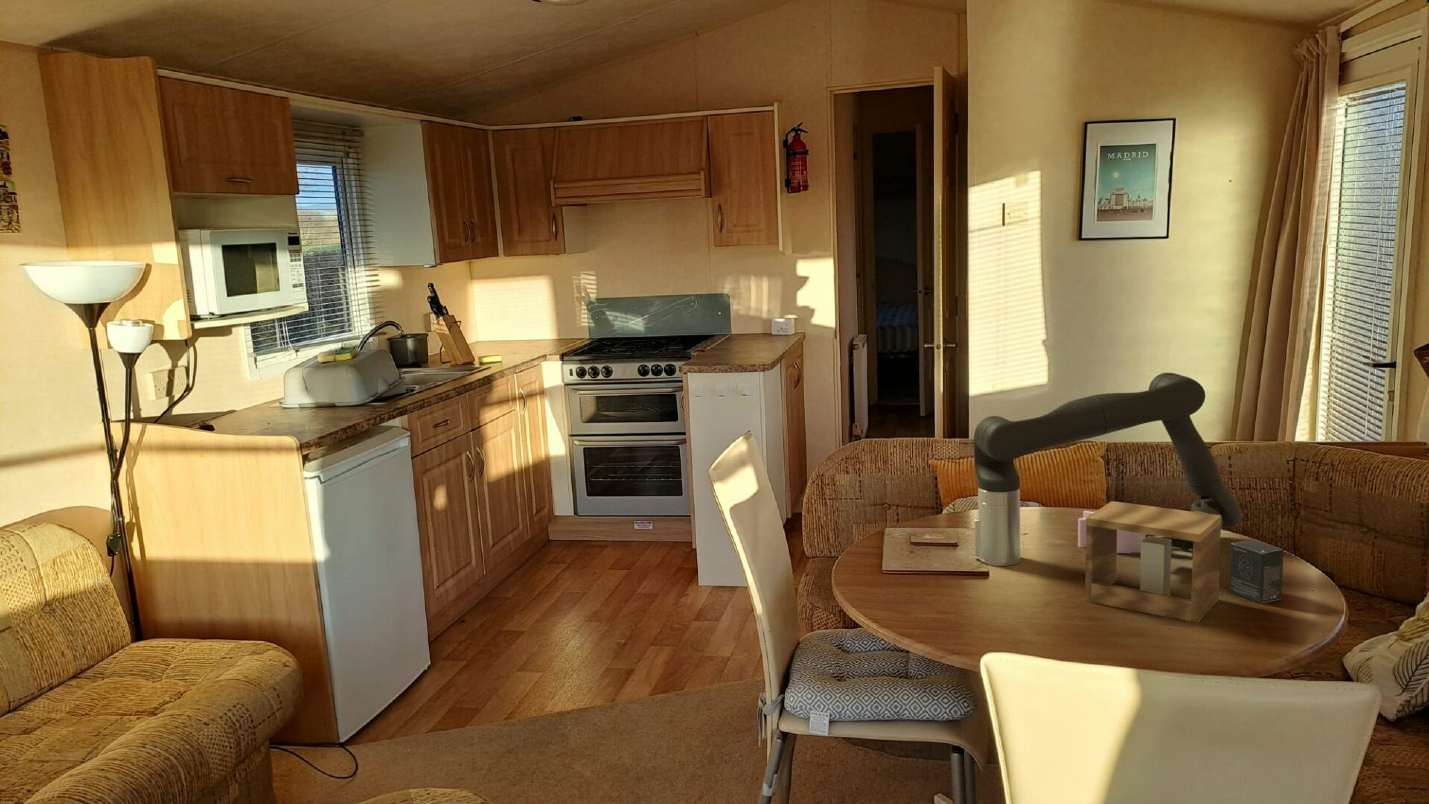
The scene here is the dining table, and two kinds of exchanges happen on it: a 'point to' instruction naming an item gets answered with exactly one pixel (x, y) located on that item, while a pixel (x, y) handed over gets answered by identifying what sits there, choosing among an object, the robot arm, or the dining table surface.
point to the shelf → (1157, 523)
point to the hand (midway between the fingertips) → (1172, 551)
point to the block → (1155, 565)
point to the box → (1256, 571)
